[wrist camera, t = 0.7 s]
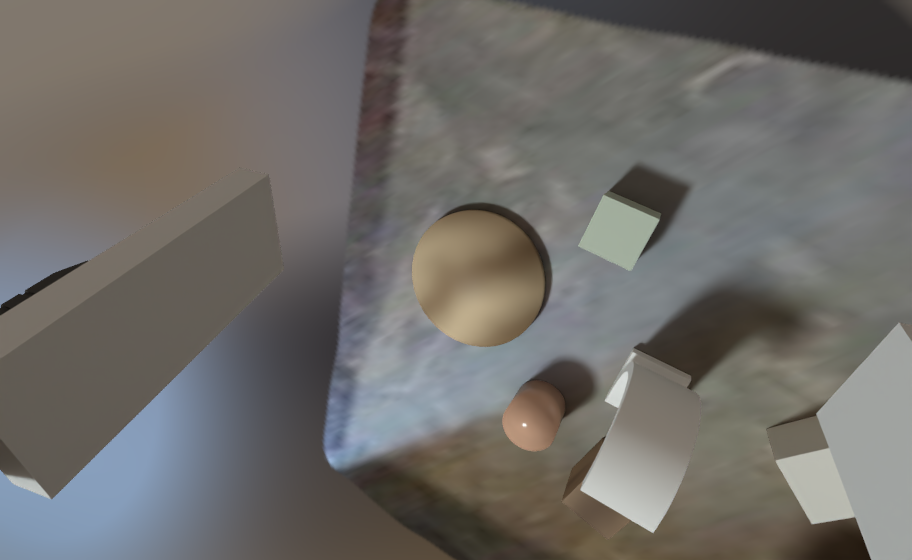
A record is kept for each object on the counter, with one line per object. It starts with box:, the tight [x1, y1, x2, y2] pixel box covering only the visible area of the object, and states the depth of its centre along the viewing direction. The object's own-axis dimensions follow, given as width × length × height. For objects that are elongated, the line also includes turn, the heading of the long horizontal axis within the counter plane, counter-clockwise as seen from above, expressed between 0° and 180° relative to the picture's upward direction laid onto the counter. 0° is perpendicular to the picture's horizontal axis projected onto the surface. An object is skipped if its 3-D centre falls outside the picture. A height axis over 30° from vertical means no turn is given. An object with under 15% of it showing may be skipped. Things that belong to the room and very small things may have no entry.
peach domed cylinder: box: [503, 380, 566, 451], centre depth 41 cm, size 4×4×4 cm
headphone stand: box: [580, 348, 701, 533], centre depth 33 cm, size 5×6×12 cm
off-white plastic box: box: [766, 416, 855, 524], centre depth 33 cm, size 5×4×4 cm
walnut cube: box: [562, 438, 631, 540], centre depth 39 cm, size 4×4×4 cm
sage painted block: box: [579, 191, 661, 271], centre depth 34 cm, size 4×4×3 cm
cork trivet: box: [412, 210, 545, 347], centre depth 41 cm, size 12×12×1 cm
